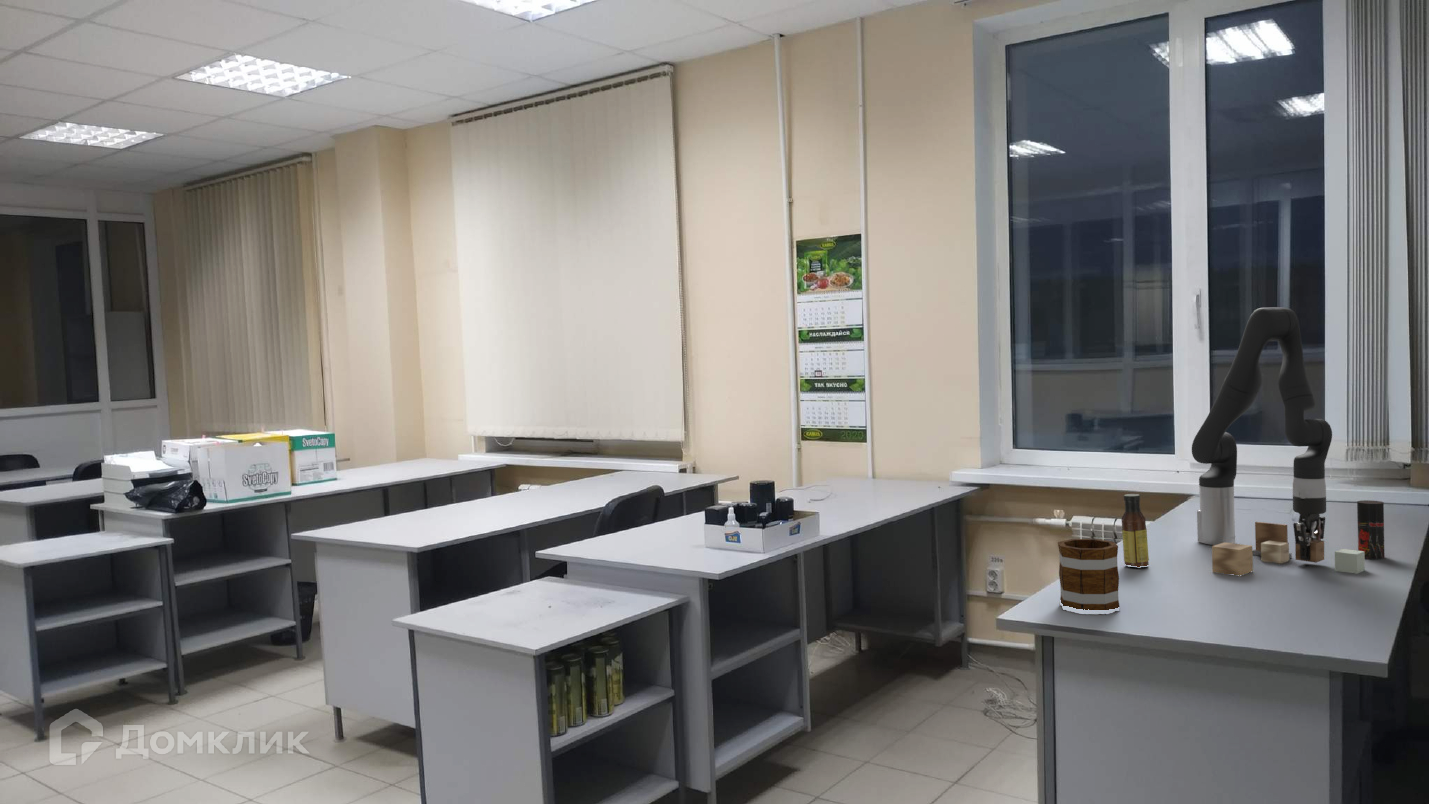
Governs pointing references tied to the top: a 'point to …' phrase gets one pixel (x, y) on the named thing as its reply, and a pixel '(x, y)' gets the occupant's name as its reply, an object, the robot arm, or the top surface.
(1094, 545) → the mug
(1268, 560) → the birch cube
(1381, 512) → the deodorant
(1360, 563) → the sage painted cube
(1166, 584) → the top surface
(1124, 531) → the sauce bottle
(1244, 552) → the oak base block
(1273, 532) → the walnut card
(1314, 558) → the walnut cube
